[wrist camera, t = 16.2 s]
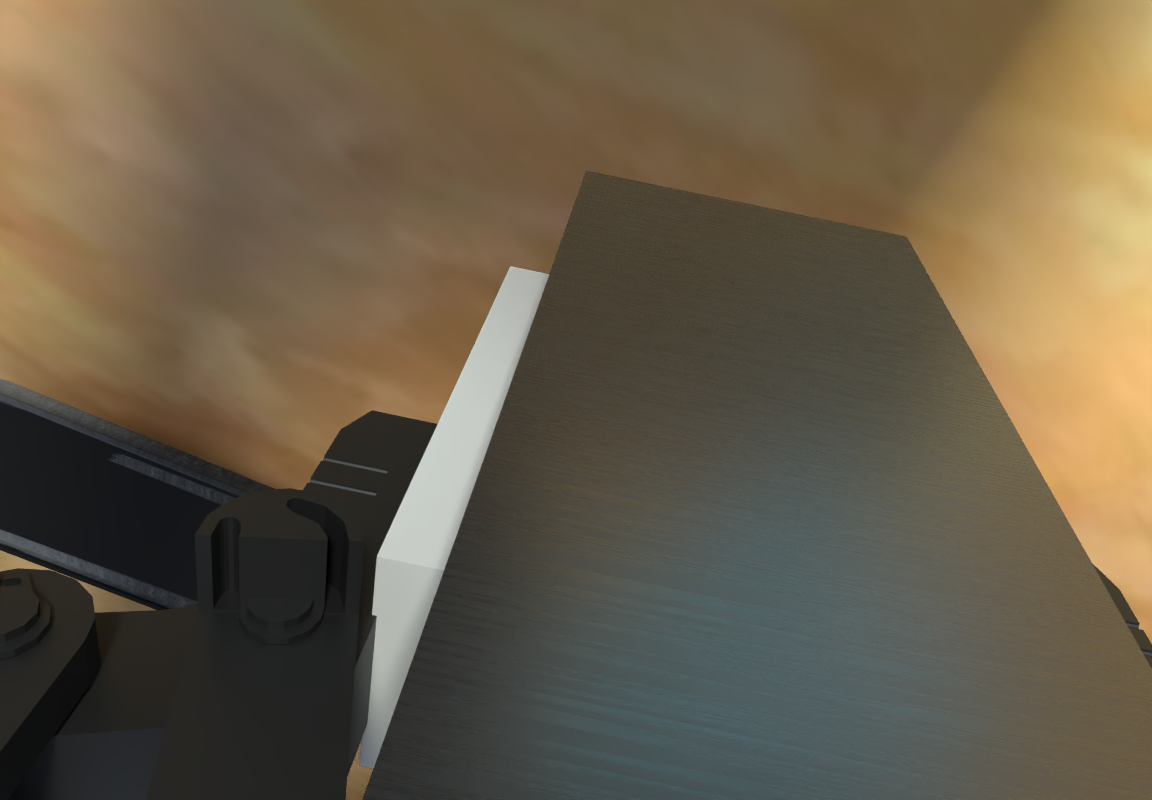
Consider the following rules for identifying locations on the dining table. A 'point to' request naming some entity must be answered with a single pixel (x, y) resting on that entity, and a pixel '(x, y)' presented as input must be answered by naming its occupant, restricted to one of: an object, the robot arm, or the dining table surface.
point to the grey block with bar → (760, 544)
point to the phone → (104, 500)
